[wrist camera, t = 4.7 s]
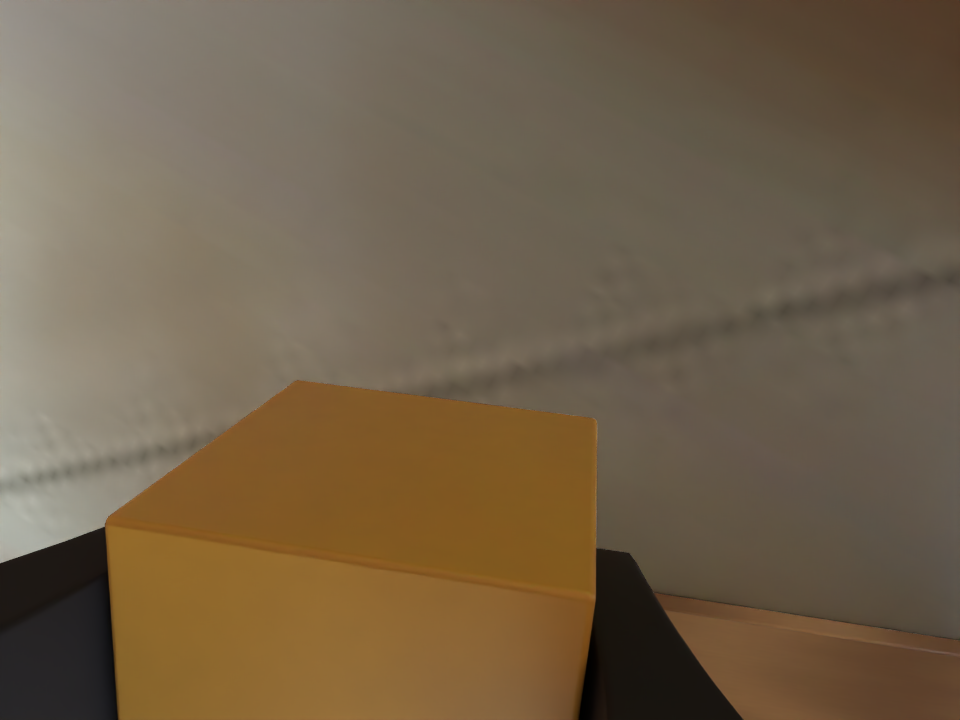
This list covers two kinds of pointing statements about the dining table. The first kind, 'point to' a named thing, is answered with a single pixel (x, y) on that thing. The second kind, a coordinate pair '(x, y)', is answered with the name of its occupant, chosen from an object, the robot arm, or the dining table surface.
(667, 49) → the dining table surface
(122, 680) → the block
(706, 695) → the robot arm
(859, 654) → the wooden drawer box
